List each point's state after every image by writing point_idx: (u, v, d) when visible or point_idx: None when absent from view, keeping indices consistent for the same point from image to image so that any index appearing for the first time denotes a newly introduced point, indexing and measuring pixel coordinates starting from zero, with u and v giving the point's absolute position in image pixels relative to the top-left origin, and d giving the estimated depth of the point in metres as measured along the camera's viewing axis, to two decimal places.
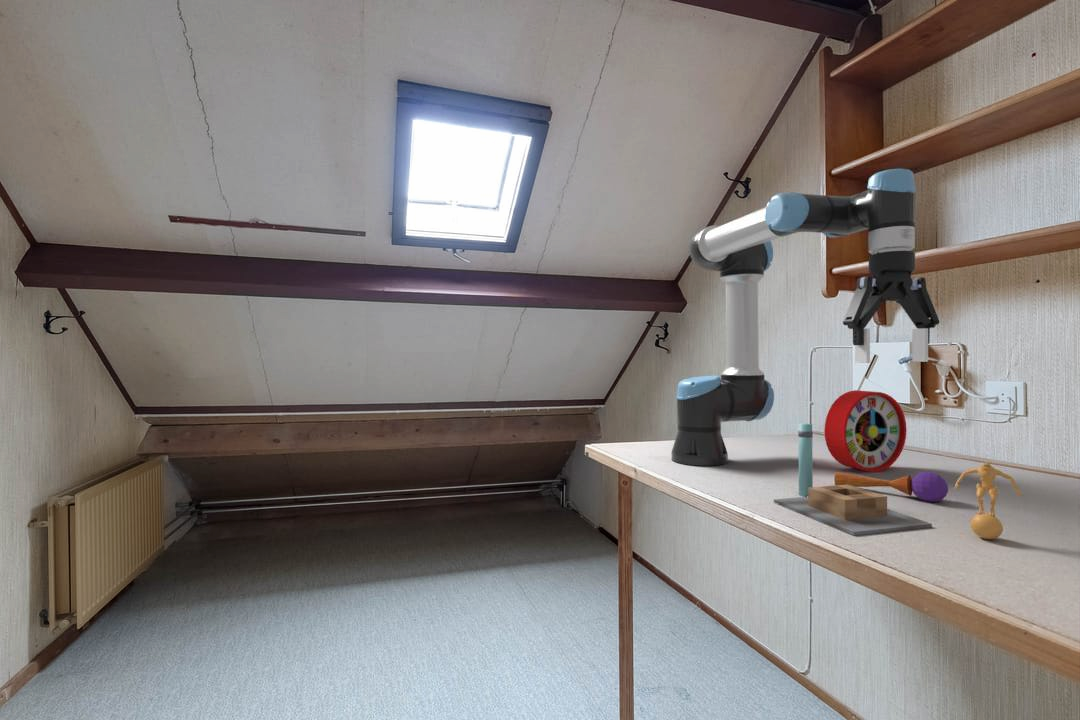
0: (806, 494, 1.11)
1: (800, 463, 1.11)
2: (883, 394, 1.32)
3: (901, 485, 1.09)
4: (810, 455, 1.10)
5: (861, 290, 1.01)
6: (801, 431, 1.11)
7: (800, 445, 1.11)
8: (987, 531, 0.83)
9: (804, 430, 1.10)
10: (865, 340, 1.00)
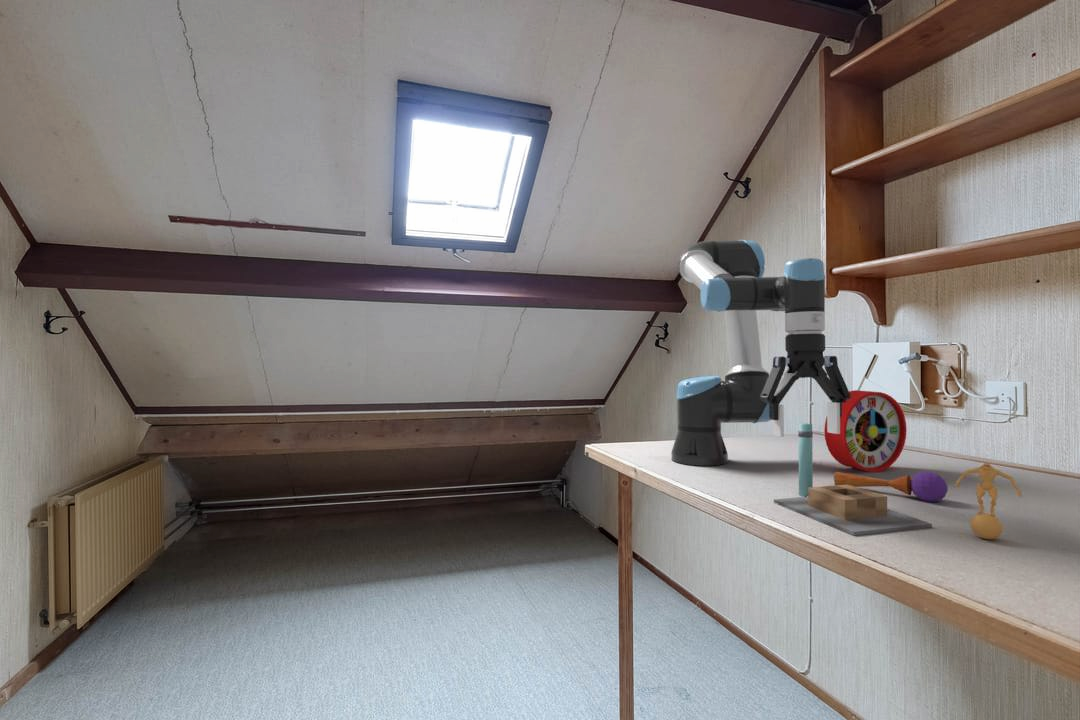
0: (806, 494, 1.11)
1: (800, 463, 1.11)
2: (883, 394, 1.32)
3: (900, 485, 1.09)
4: (810, 455, 1.10)
5: (776, 369, 1.09)
6: (801, 431, 1.11)
7: (800, 445, 1.11)
8: (987, 531, 0.83)
9: (804, 430, 1.10)
10: (779, 415, 1.09)
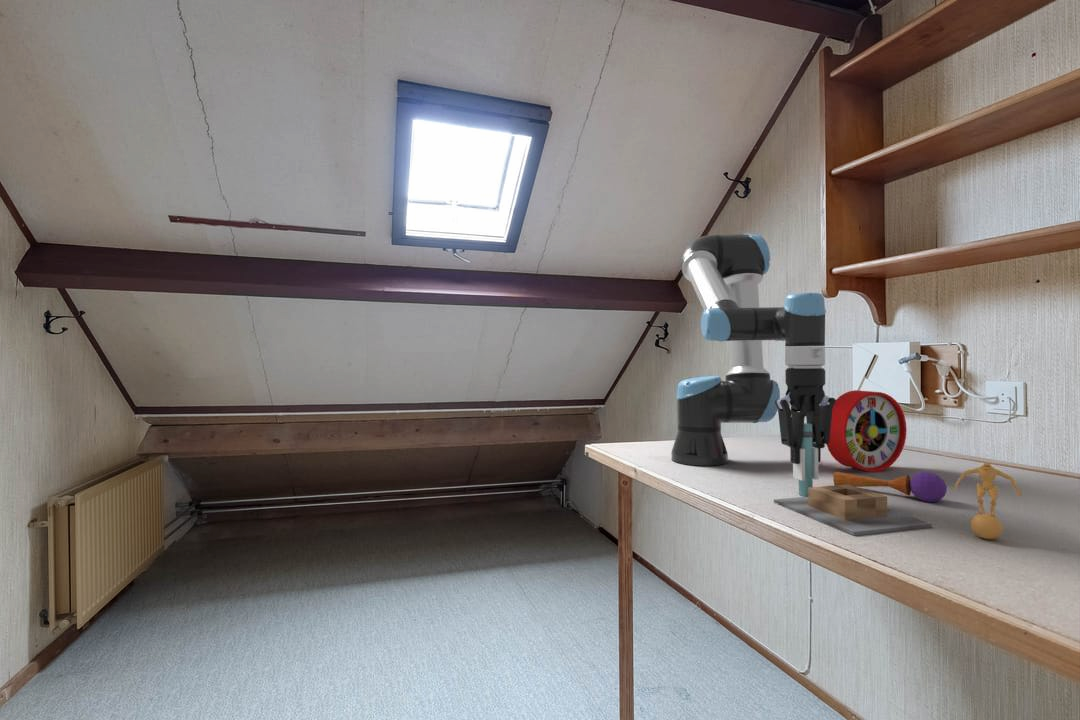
0: (806, 494, 1.11)
1: None
2: (883, 394, 1.32)
3: (899, 485, 1.09)
4: (810, 455, 1.10)
5: (782, 413, 1.10)
6: None
7: None
8: (987, 531, 0.83)
9: (804, 430, 1.10)
10: (801, 459, 1.10)
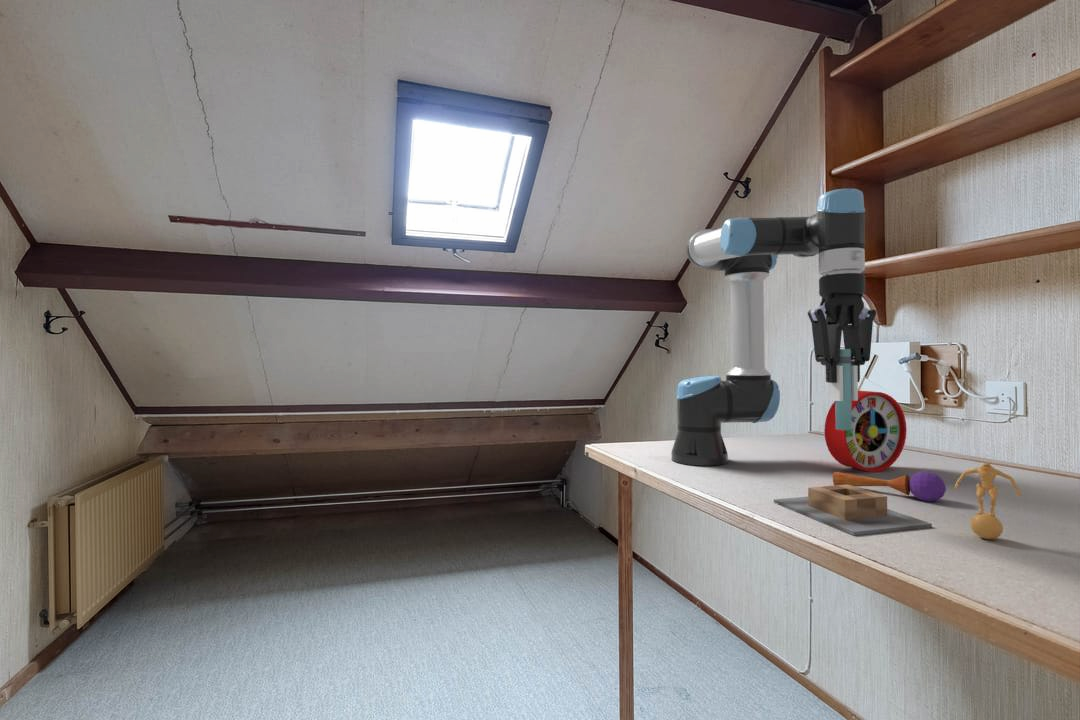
0: (844, 427, 0.98)
1: None
2: (883, 394, 1.32)
3: (898, 484, 1.09)
4: (849, 383, 0.98)
5: (817, 324, 0.97)
6: (839, 356, 0.98)
7: None
8: (987, 531, 0.83)
9: (842, 355, 0.98)
10: (838, 378, 0.98)
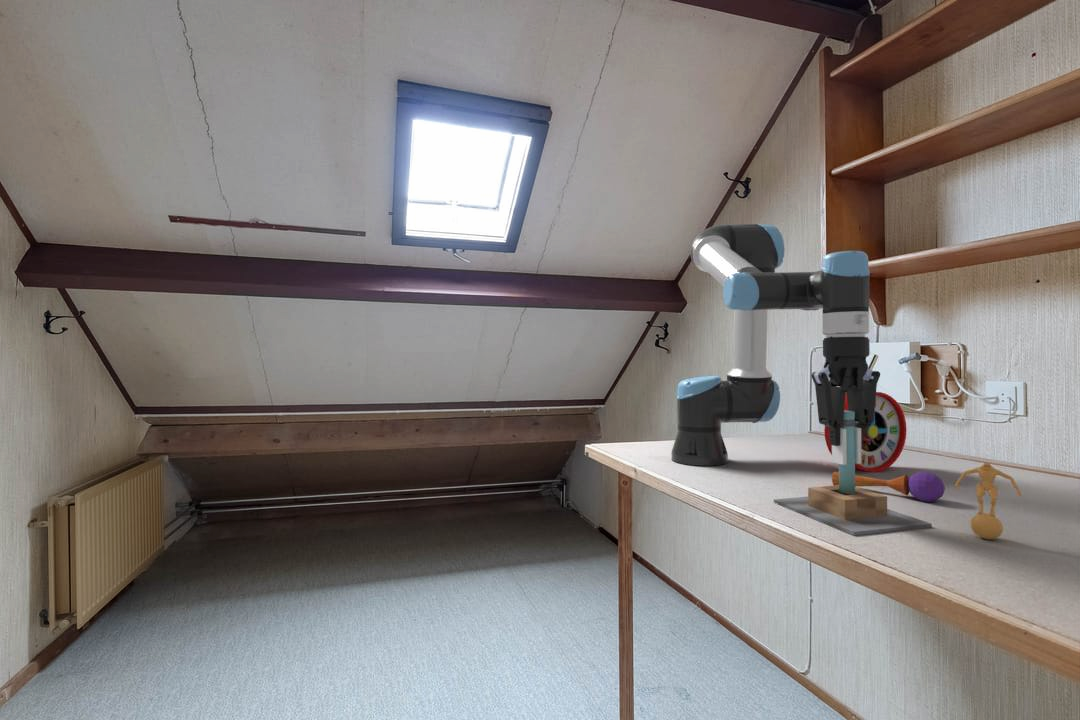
0: (848, 491, 0.97)
1: None
2: (883, 394, 1.32)
3: (897, 484, 1.09)
4: (852, 446, 0.97)
5: (821, 387, 0.97)
6: None
7: None
8: (987, 531, 0.83)
9: (845, 418, 0.97)
10: (841, 441, 0.97)
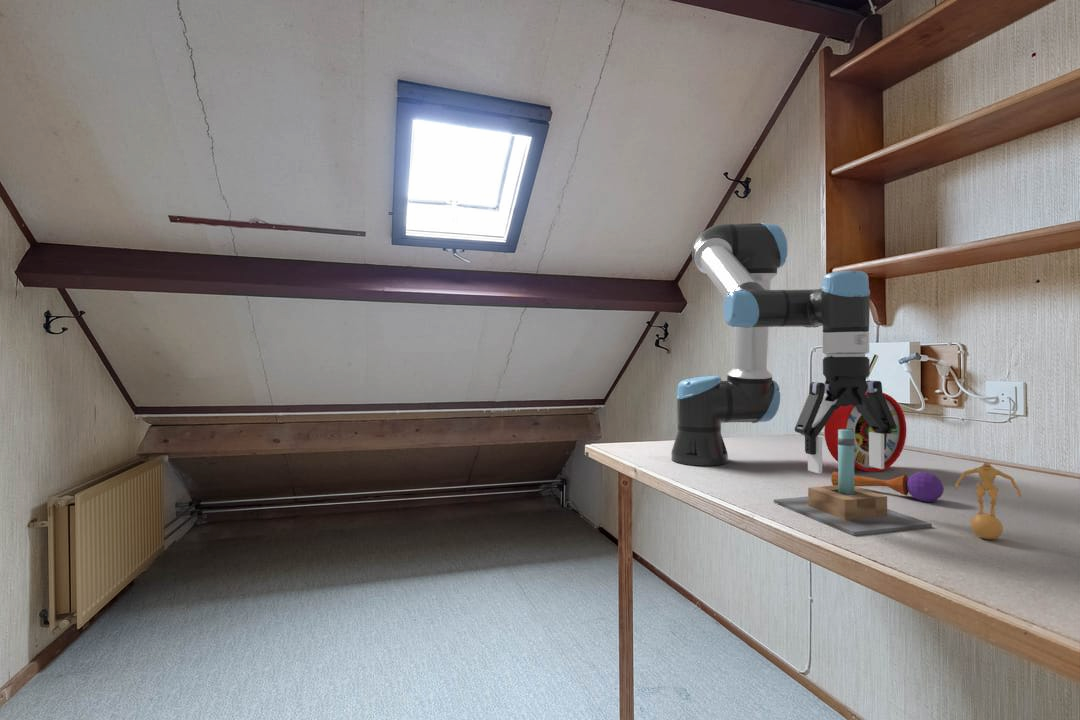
0: None
1: (840, 475, 0.98)
2: (883, 394, 1.32)
3: (896, 484, 1.09)
4: (852, 466, 0.97)
5: (813, 397, 0.96)
6: (842, 438, 0.98)
7: (840, 454, 0.98)
8: (987, 531, 0.83)
9: (845, 437, 0.97)
10: (817, 450, 0.96)
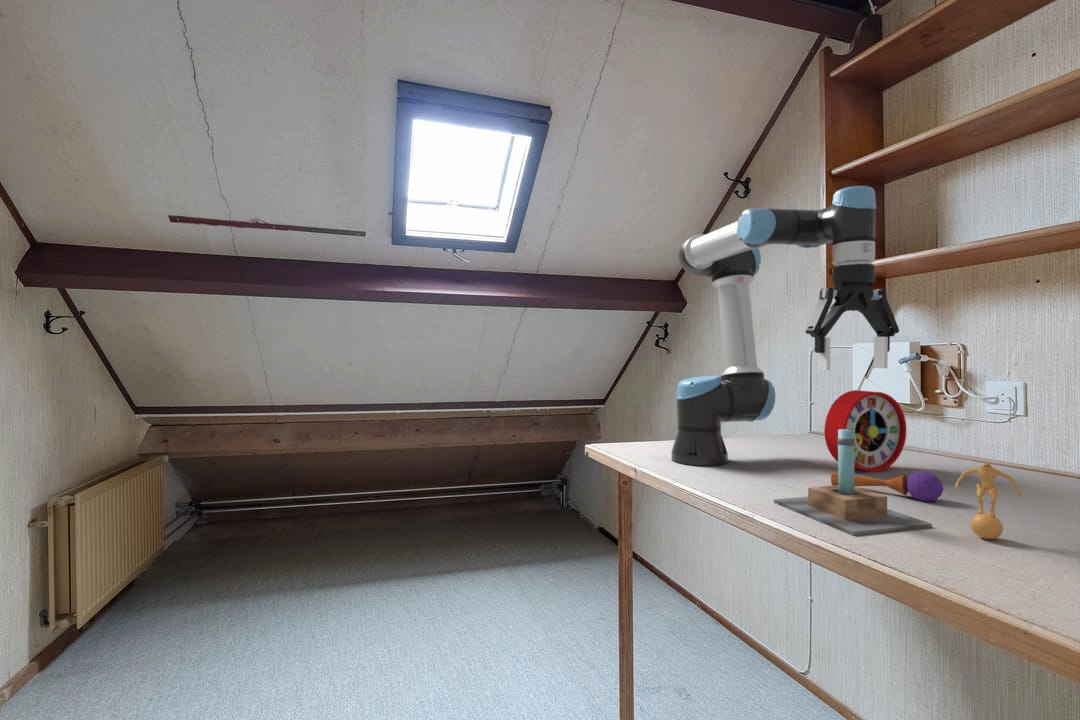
0: None
1: (840, 475, 0.98)
2: (883, 394, 1.32)
3: (896, 484, 1.09)
4: (852, 466, 0.97)
5: (823, 301, 1.07)
6: (842, 438, 0.98)
7: (840, 454, 0.98)
8: (987, 531, 0.83)
9: (845, 437, 0.97)
10: (826, 348, 1.06)
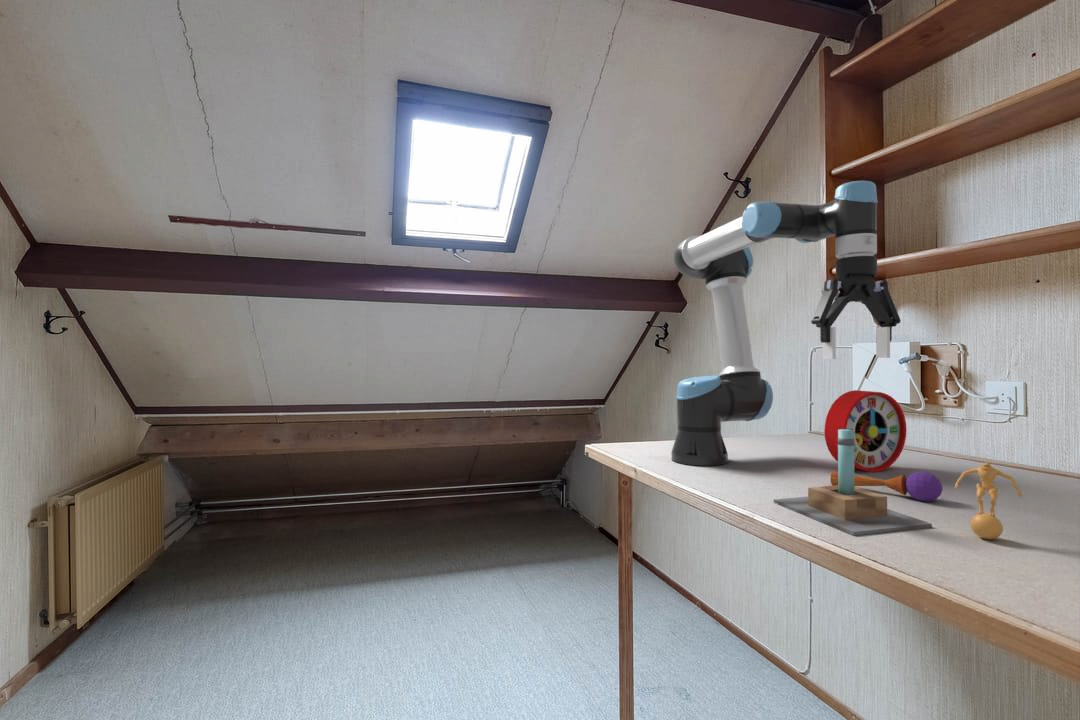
0: None
1: (840, 475, 0.98)
2: (883, 394, 1.32)
3: (895, 484, 1.09)
4: (852, 466, 0.97)
5: (828, 292, 1.10)
6: (842, 438, 0.98)
7: (840, 454, 0.98)
8: (987, 531, 0.83)
9: (845, 437, 0.97)
10: (831, 338, 1.09)
